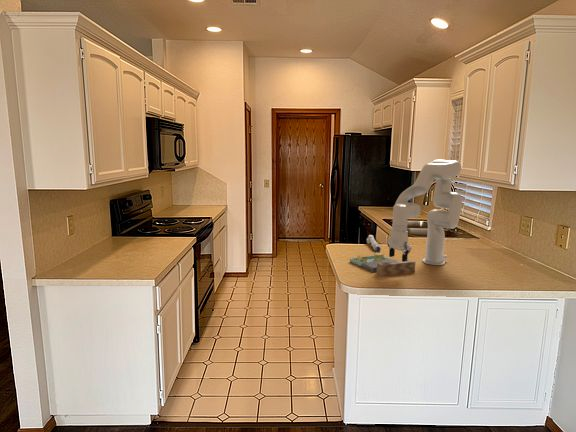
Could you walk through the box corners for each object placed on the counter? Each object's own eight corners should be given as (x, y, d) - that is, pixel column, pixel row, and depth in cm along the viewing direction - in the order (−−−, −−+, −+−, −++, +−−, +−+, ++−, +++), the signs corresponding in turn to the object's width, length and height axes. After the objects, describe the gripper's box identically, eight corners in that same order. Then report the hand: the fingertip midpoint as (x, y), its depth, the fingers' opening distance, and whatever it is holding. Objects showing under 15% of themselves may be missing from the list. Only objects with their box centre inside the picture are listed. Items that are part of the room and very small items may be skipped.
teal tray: (379, 258, 248) (379, 254, 248) (391, 262, 239) (391, 259, 239) (349, 262, 238) (349, 258, 237) (361, 267, 229) (361, 263, 228)
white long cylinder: (374, 246, 263) (366, 232, 286) (373, 255, 265) (365, 241, 288) (382, 246, 263) (374, 232, 286) (381, 255, 265) (373, 241, 289)
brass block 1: (366, 263, 234) (362, 261, 238) (367, 256, 234) (362, 254, 237) (361, 264, 232) (356, 262, 236) (361, 257, 232) (357, 255, 235)
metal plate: (391, 262, 239) (391, 258, 238) (403, 267, 230) (404, 263, 230) (361, 267, 228) (361, 262, 228) (373, 272, 220) (373, 267, 219)
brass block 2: (383, 260, 240) (378, 259, 244) (383, 254, 239) (379, 252, 243) (378, 261, 238) (373, 259, 242) (378, 255, 238) (374, 253, 241)
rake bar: (409, 270, 226) (410, 259, 225) (414, 272, 223) (415, 261, 222) (376, 274, 218) (377, 263, 217) (380, 276, 214) (381, 265, 213)
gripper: (383, 225, 222) (381, 255, 225) (406, 231, 207) (404, 264, 210) (393, 223, 225) (392, 253, 229) (417, 230, 210) (415, 262, 214)
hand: (398, 258), depth 219 cm, fingers open, 9 cm apart
